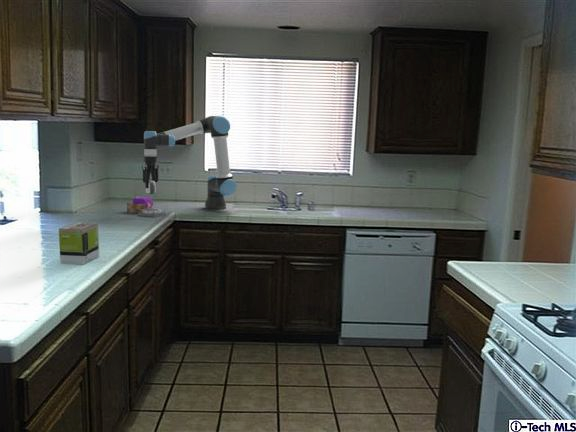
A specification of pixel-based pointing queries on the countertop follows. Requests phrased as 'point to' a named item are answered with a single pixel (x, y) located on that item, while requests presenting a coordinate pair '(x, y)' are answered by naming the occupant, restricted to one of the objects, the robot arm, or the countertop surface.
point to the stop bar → (135, 207)
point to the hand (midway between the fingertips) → (150, 192)
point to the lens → (152, 187)
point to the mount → (151, 212)
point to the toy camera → (143, 201)
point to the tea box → (78, 243)
